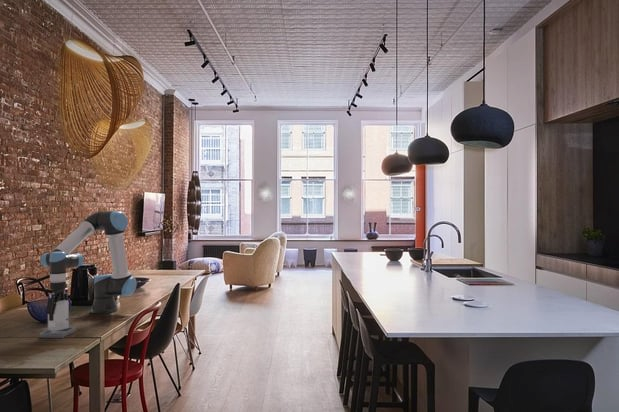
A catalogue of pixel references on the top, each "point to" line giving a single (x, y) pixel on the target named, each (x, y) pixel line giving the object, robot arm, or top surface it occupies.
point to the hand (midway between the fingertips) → (58, 324)
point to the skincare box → (60, 316)
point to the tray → (57, 333)
